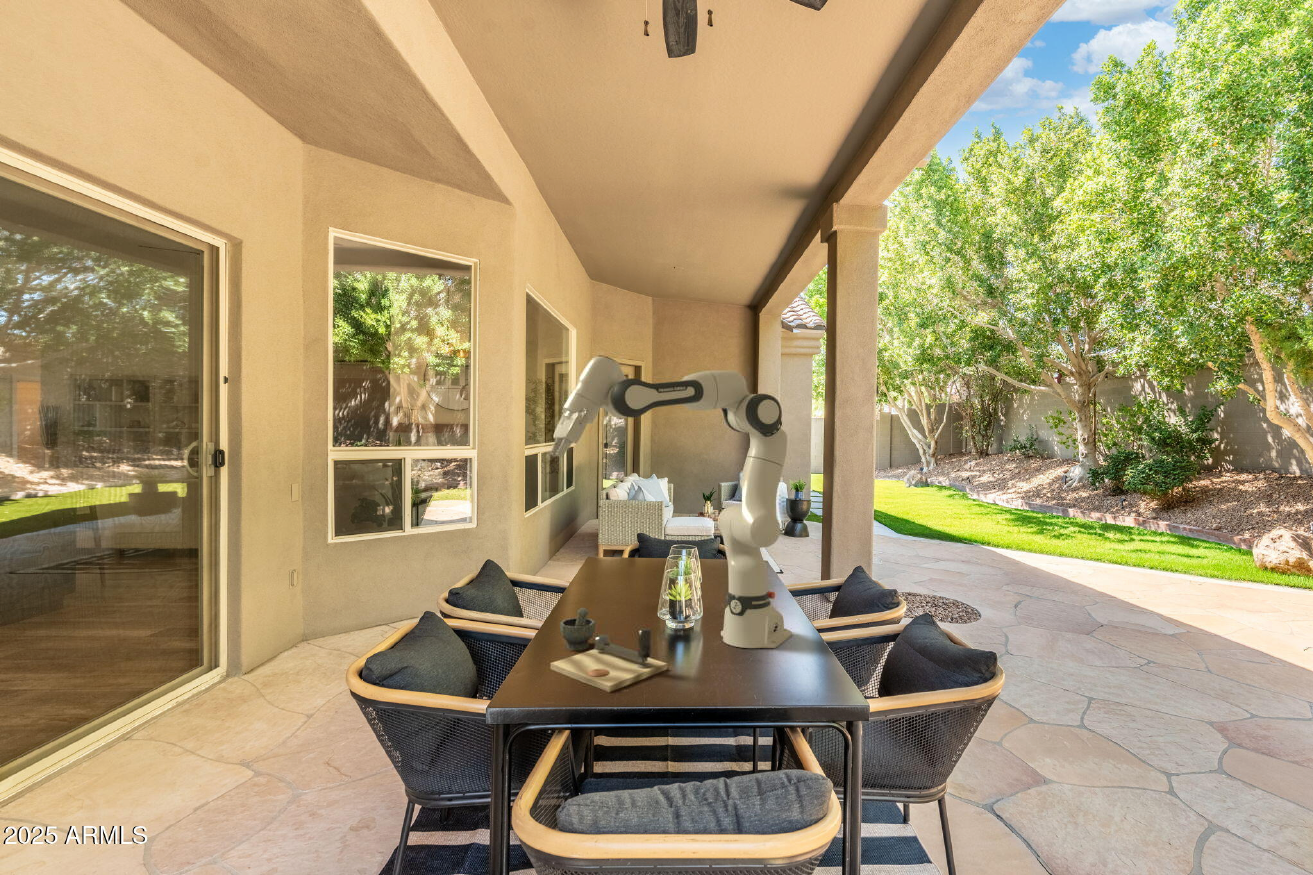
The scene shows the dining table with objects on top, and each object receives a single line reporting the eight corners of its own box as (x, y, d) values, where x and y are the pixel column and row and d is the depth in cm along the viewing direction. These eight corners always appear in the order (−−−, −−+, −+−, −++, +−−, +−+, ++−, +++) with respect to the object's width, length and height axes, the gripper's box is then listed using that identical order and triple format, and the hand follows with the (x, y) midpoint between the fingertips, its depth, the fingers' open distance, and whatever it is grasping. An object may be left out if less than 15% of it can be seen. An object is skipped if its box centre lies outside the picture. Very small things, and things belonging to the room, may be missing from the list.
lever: (602, 644, 174) (602, 615, 174) (654, 661, 161) (654, 629, 161) (591, 647, 171) (591, 618, 171) (643, 665, 158) (643, 633, 158)
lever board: (608, 650, 177) (608, 644, 177) (666, 669, 162) (666, 662, 162) (550, 669, 162) (550, 662, 162) (609, 692, 147) (609, 684, 147)
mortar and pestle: (556, 643, 182) (556, 602, 183) (587, 639, 186) (587, 598, 186) (567, 655, 172) (567, 611, 172) (600, 651, 176) (600, 607, 176)
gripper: (599, 414, 160) (573, 462, 158) (582, 417, 180) (559, 460, 178) (577, 402, 159) (551, 450, 157) (563, 406, 178) (539, 449, 176)
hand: (555, 456), depth 167 cm, fingers open, 8 cm apart
